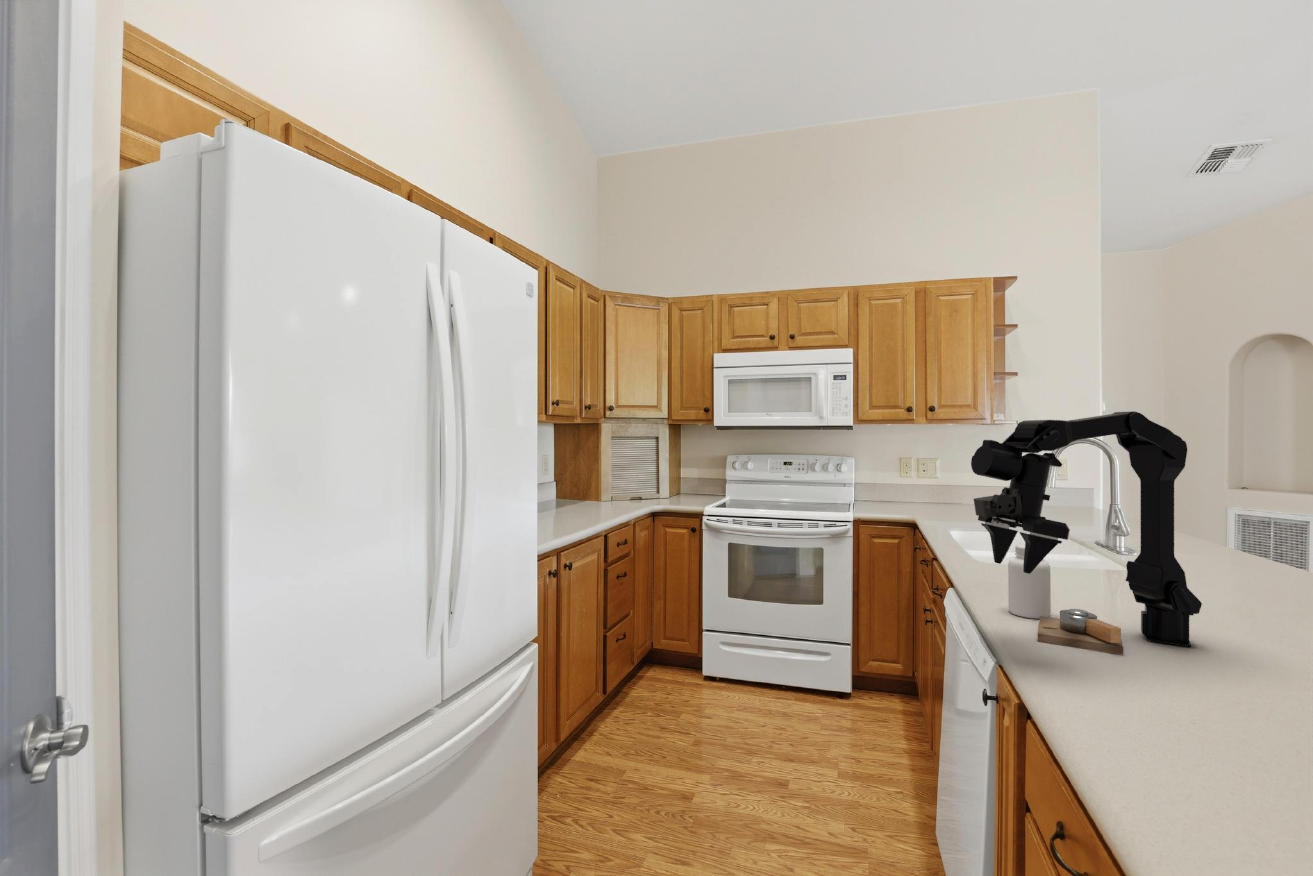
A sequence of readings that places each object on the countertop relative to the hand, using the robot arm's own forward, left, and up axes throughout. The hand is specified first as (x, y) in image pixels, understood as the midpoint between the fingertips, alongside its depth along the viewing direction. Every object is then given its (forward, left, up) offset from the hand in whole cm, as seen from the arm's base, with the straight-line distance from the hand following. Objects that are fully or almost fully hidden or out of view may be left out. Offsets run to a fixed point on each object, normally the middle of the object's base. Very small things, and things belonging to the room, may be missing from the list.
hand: (1011, 568), depth 110 cm
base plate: (-10, -14, -15) cm, 23 cm away
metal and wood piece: (-12, -12, -13) cm, 22 cm away
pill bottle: (-2, -26, -15) cm, 31 cm away
